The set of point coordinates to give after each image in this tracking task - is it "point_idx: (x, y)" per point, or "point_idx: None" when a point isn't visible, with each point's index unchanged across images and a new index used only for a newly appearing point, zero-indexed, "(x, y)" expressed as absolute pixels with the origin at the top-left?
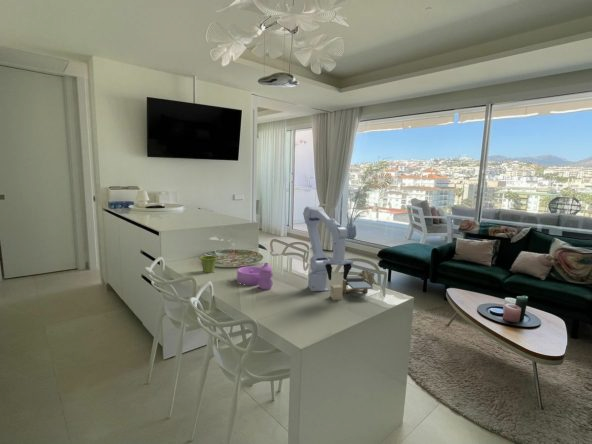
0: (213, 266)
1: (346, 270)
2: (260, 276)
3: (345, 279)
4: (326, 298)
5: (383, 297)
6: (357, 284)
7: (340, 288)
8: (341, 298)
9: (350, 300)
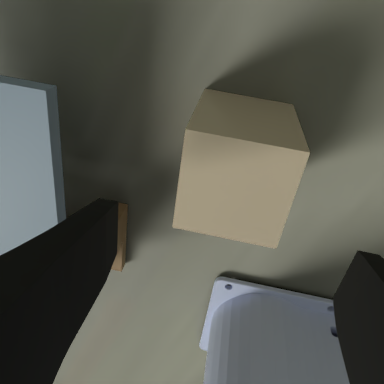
0: None
1: (5, 313)
2: None
3: (105, 201)
4: (333, 149)
5: None
6: None
7: (216, 131)
8: (209, 91)
9: (135, 42)
